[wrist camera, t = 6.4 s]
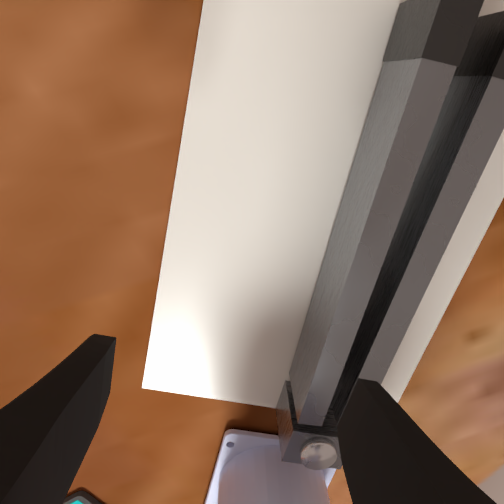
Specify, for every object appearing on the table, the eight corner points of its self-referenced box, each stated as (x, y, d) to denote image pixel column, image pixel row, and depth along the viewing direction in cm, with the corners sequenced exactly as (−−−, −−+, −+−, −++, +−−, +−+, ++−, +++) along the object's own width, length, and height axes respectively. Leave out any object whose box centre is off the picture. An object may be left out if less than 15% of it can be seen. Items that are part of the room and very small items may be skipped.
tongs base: (327, 415, 24) (343, 476, 20) (275, 407, 23) (282, 468, 20) (490, 30, 15) (568, 16, 12) (415, 7, 15) (471, -15, 11)
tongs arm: (310, 375, 22) (323, 427, 19) (287, 372, 22) (296, 424, 19) (431, 11, 15) (486, -7, 12) (399, 3, 15) (446, -18, 11)
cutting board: (380, 412, 25) (386, 425, 24) (145, 375, 23) (142, 387, 22) (598, -26, 15) (621, -32, 15) (230, -148, 14) (229, -165, 13)
